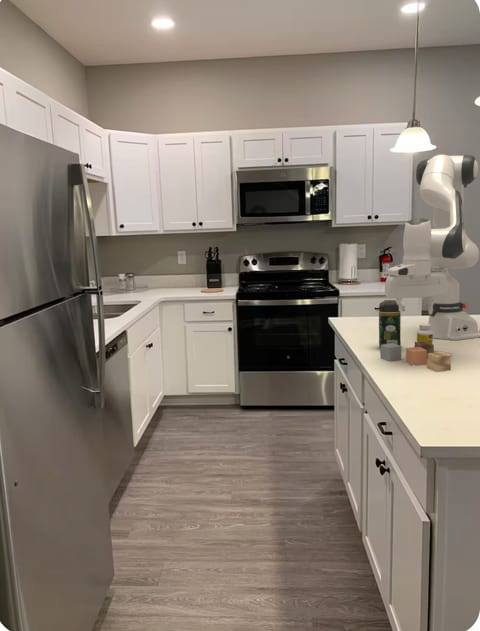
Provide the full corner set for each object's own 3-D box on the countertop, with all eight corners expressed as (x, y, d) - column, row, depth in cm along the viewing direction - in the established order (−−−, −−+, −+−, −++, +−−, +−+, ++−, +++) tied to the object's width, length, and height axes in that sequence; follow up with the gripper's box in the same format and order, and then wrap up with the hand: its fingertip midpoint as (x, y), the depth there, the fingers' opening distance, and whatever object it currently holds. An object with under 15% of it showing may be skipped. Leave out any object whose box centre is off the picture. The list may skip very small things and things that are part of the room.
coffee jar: (378, 345, 191) (378, 298, 188) (399, 345, 189) (400, 298, 185) (378, 351, 182) (378, 302, 178) (400, 352, 180) (401, 302, 176)
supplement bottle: (430, 353, 176) (431, 326, 175) (415, 351, 179) (415, 325, 178) (433, 349, 181) (434, 323, 179) (418, 348, 184) (418, 322, 182)
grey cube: (392, 356, 174) (392, 343, 173) (401, 360, 170) (401, 346, 169) (380, 358, 173) (380, 344, 172) (389, 361, 168) (389, 347, 167)
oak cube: (440, 366, 160) (440, 351, 159) (450, 370, 155) (451, 355, 154) (427, 368, 159) (427, 353, 158) (437, 372, 154) (437, 356, 153)
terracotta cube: (419, 361, 167) (420, 346, 166) (426, 364, 162) (426, 350, 161) (405, 361, 167) (406, 347, 166) (412, 365, 162) (412, 351, 161)
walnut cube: (428, 355, 174) (429, 341, 173) (433, 358, 169) (433, 344, 168) (414, 355, 175) (414, 341, 174) (418, 359, 170) (419, 345, 169)
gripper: (442, 267, 163) (441, 307, 165) (383, 269, 162) (382, 310, 164) (452, 268, 157) (450, 310, 159) (390, 270, 156) (389, 313, 158)
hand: (415, 310), depth 162 cm, fingers open, 8 cm apart
